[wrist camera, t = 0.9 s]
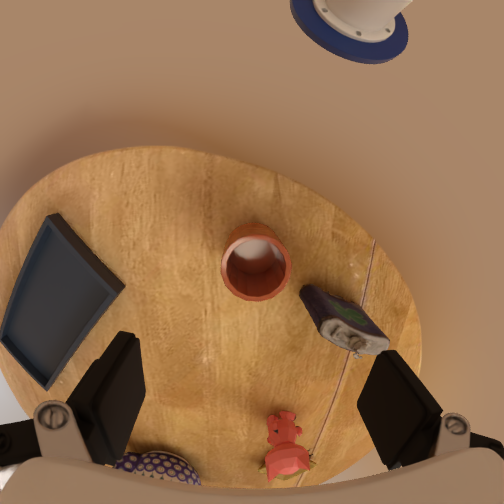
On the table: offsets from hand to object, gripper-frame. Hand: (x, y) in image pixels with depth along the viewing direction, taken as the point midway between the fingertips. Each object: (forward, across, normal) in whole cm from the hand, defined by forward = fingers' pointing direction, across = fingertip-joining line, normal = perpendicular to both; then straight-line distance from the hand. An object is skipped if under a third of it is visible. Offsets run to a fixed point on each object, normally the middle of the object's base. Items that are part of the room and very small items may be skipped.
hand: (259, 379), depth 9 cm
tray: (+22, +29, +14) cm, 39 cm away
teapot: (+22, +12, +47) cm, 53 cm away
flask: (+22, -11, +6) cm, 26 cm away
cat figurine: (+22, -8, +27) cm, 36 cm away
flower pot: (+22, -1, 0) cm, 22 cm away
